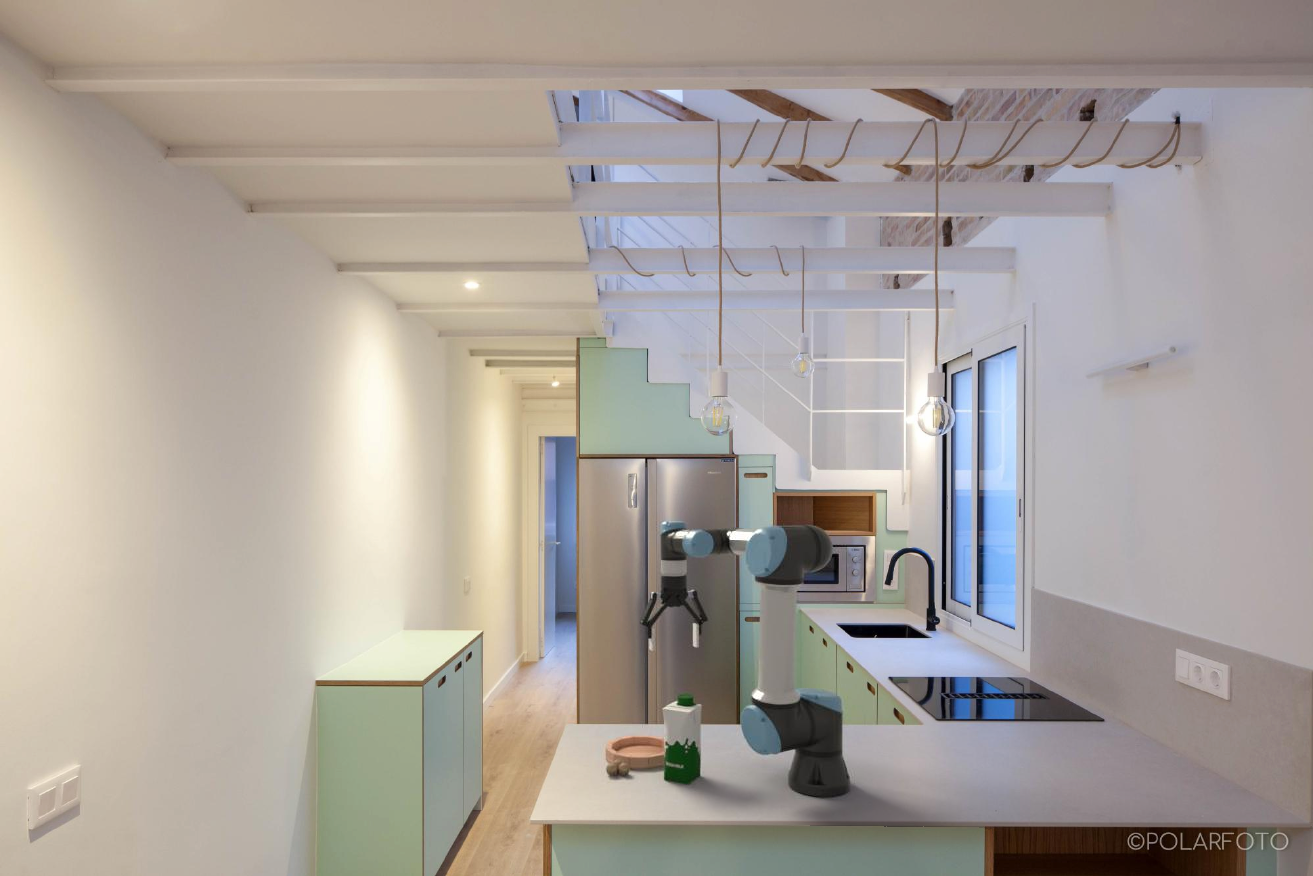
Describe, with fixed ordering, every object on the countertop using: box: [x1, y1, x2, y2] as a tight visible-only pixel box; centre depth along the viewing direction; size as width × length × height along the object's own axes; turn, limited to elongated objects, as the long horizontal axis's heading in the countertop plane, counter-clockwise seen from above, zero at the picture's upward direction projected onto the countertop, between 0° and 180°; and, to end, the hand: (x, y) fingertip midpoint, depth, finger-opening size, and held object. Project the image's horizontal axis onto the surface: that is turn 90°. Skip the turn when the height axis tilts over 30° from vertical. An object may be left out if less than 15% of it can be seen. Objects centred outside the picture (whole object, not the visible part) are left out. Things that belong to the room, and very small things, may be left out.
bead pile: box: [605, 760, 631, 777], centre depth 213 cm, size 6×6×3 cm
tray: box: [604, 734, 664, 770], centre depth 226 cm, size 19×19×3 cm
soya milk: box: [662, 693, 703, 785], centre depth 210 cm, size 9×9×20 cm
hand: (674, 648), depth 239 cm, fingers open, 13 cm apart
